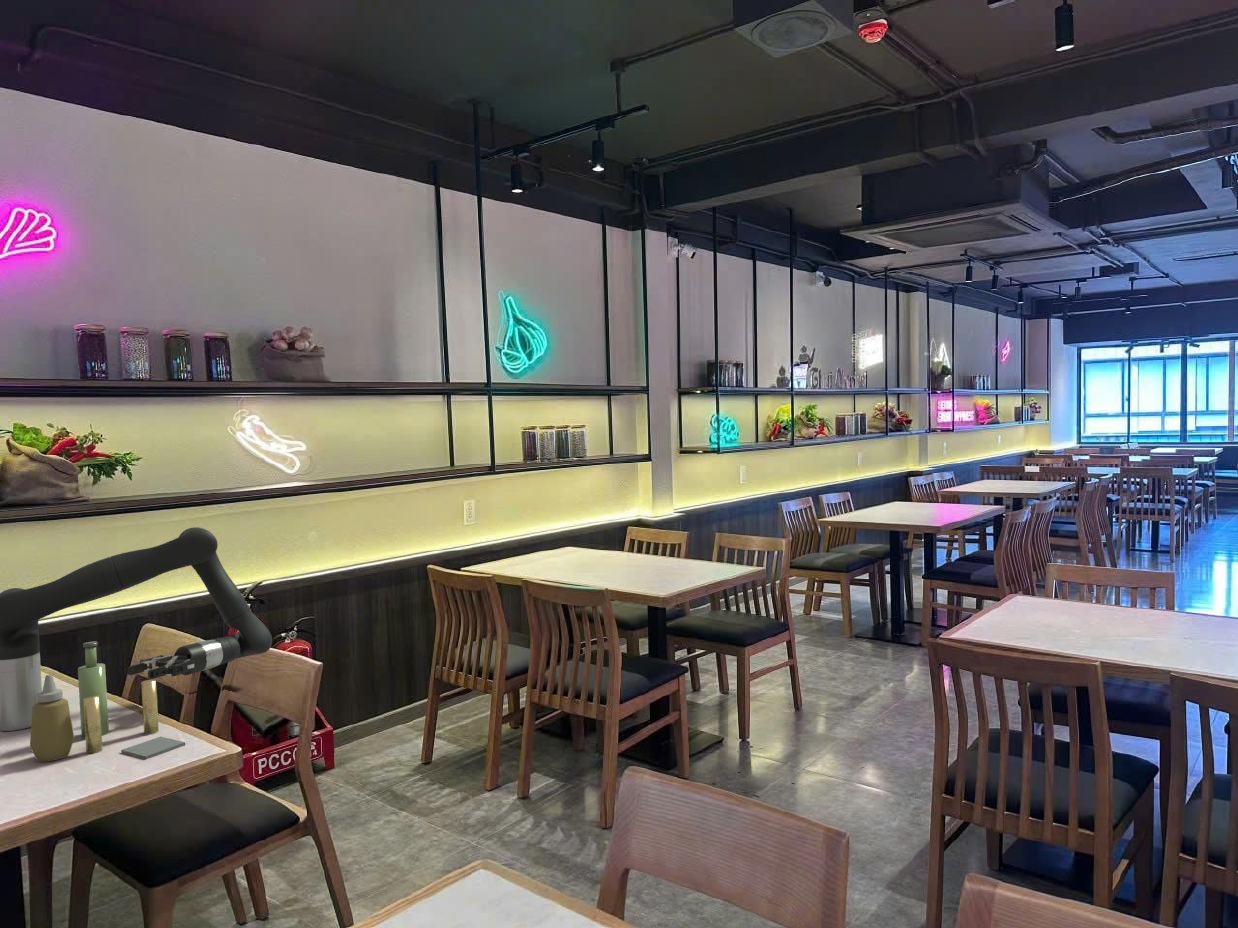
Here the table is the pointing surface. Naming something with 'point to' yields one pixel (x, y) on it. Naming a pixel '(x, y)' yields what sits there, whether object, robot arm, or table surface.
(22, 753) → the table surface
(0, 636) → the robot arm
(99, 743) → the brass rod
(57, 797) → the table surface
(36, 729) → the squeeze bottle
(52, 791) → the table surface
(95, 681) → the olive bottle
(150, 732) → the brass rod
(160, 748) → the grey coaster
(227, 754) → the table surface
